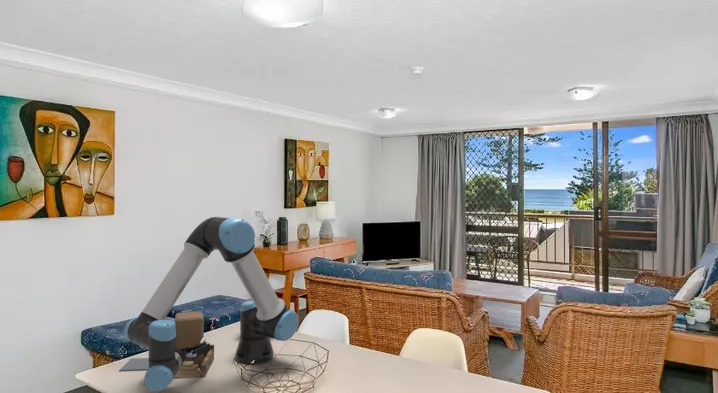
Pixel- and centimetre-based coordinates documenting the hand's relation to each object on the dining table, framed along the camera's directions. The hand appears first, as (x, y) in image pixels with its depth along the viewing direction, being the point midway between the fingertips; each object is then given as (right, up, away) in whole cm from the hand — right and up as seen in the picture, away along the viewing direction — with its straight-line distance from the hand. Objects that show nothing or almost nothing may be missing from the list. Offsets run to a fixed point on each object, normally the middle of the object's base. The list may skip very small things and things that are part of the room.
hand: (185, 341), depth 167 cm
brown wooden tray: (0, -11, +2) cm, 11 cm away
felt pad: (-19, -11, +5) cm, 22 cm away
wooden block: (0, -11, +3) cm, 12 cm away
